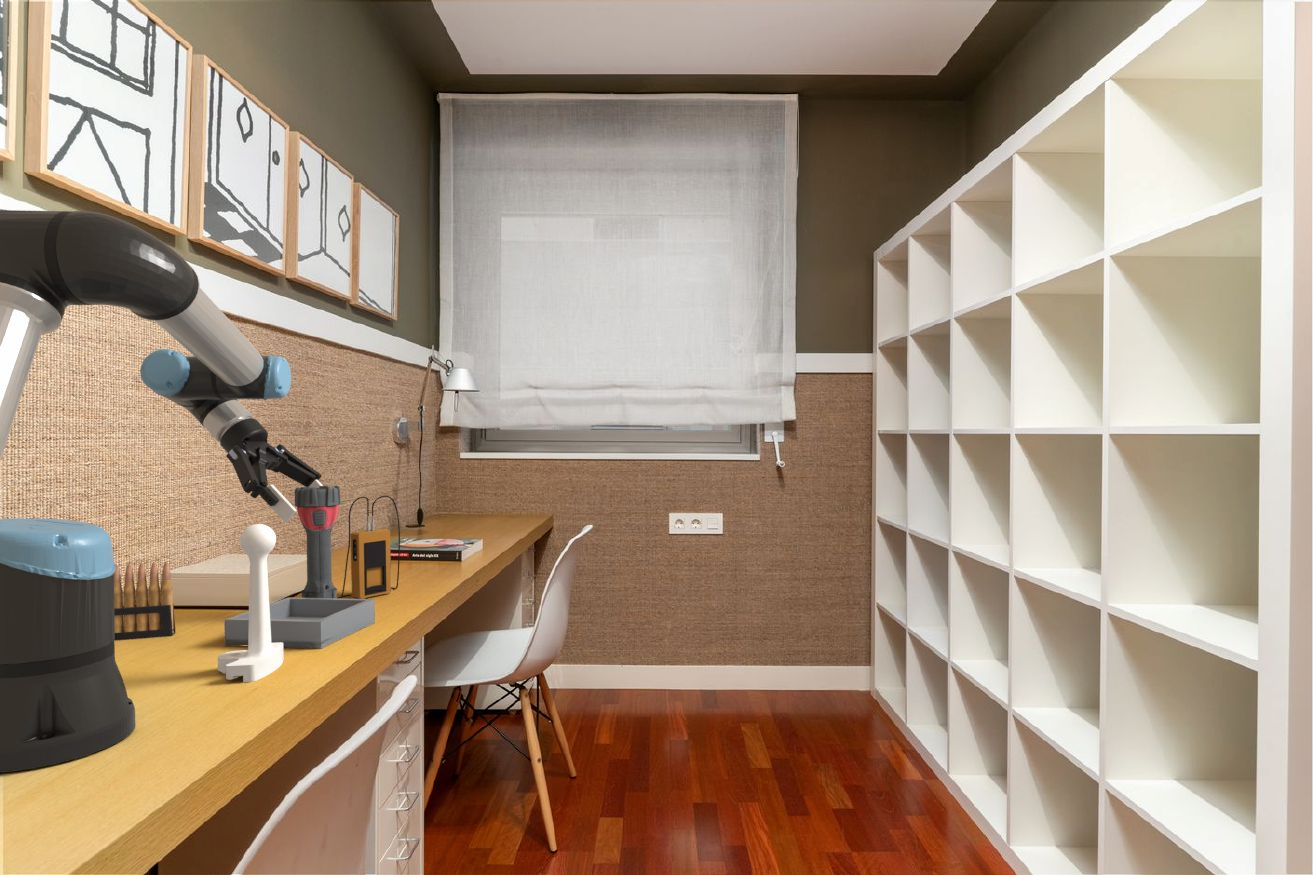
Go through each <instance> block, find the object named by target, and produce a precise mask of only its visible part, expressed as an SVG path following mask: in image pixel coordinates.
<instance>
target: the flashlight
mask: <svg viewBox="0 0 1313 875" xmlns="http://www.w3.org/2000/svg"><path fill="white" fill-rule="evenodd" d="M341 502H342V501H341V488H340V486H339V485H334V486H328V485H323V486H319V488H315V487H306V486H301V487H299V486H297V487H296V488H295V489H294V507H296V510H297V515H298V517H299V520H300V523H301V525H302V527H303V529H304V531H305V534H306V585H305V586H304V587H303V588H304V589H303V590H301V592H300V594H301V595H300V596H301V598H338V588H337V587H335V585H334V582H333V579H332V578H333V577H332V575H333V573H332V572H333V571H332V531H333V528H334V526H335V523H336V520H337V517H338V513H339V509H340V508H339V507H340V505H342V504H341Z"/></svg>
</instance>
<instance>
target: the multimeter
mask: <svg viewBox="0 0 1313 875" xmlns="http://www.w3.org/2000/svg"><path fill="white" fill-rule="evenodd" d="M381 498H389V499H390V500H391V501H392V504H393V505H394V508H395V511H396V518H397V529H398V552H397V556H398V558H397V576H396V578H397V579H396V587H394V586H393V587H392V586H391V582H392V581H391V580H392V579H391V578H392V577H391V574H392V573H391V572H392V571H391V570H392V569H391V568H392V556H391V530H390V529H389V528H375V522H374V520H375V519H374V505H375V503H376V502H377V501H378V500H379V499H381ZM361 499H366V503H367V504H366V511H367V512H366V514H367V516H366V530H361V531H353V532H352V531H351V511H352V510H353V509H352V508H353V506H354V504H355V503H356V501H358V500H361ZM369 503H370V502H369V498H368V497H367V496H360V497H357V498H356V499H355V500H354V501H353V502H352V503H351V504H350V508H349V512H348V546H347V547H348V548H347V552H346V560H345V568H344V569H345V570H344V578H343V586H342V591H341V596H337V598H338V599H344V598H345V597H350V596H351V598H352V599H369V598H373V597H377V596H382V595H384V596H386V595H390V593H391V591H392V589H393V590H397V589H398V587H399V579H400V578H399V577H400V576H399V575H400V559H401V557H400V556H401V554H400V553H401V552H400V551H401V550H400V549H401V530H400V529H401V528H400V526H401V525H400V518H399V512H398V508H397V505H396V503H395V500H394V498H392V497H391V496H389V495H381V496H379V497H377V498H376V499H375V500H374V501H373V503H372V504H371V523H370V515H369V508H370V507H369V505H370V504H369ZM349 553H350V568H351V570H350V571H351V572H350V573H351V579H350V580H351V594H346V595H344V593H345V585H346V580H347V570H348V564H349V562H348V561H349Z"/></svg>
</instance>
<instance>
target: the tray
mask: <svg viewBox="0 0 1313 875" xmlns="http://www.w3.org/2000/svg"><path fill="white" fill-rule="evenodd" d="M375 601H376V600H375V599H374V598H371V599H370V598H365V599H357V598H342V599H341V598H339V599H338V597H337V598H302V597H289V596H287V597H285V598H284V599H280V600H277V601H273V602H271V603H269V608H270V626H271V643H277V642H282V643H283V648H289V649H290V648H293V649H296V648H297V649H298V648H299V649H319V650H320V649H324V648H325V647H327V646H329V645H331V644H334V643H336V642H337V641H340V640H342V639H344V638H346V637H348V636H350V635H353V634H355V633H356V632H358V631H360V630H363V629H365V628H367V627H369V626H372V625H373V624H375V623H376V611H375V610H376V605H375V604H376V602H375ZM223 622H224V624H223V625H224V646H225V645H248V631H249V610H248V611H245V612H243V613H239V614H237V615H234V616H231V617H227V618H224V620H223Z"/></svg>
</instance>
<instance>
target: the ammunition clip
mask: <svg viewBox="0 0 1313 875" xmlns="http://www.w3.org/2000/svg"><path fill="white" fill-rule="evenodd" d="M169 565H170V564H169V563H168V561H165V562H164V564H163V567H162V573H161V586H160V581H159V580H160V578H159V571H158V567H157V564H156V561H154V562H152V563H151V566H150V570H149V580H148V581H149V584H148V583H147V574H146V573H147V571H146V569H145V566H144V563H143V562H141V563H140V564H139V565H138V570H137V575H136V576H137V578H136V588H135V581H134V579H135V577H134V571H133V567H132V565H131V563H127V565H126V567H125V572H124V585H123V586H124V587H122V578H121V577H122V576H121V571H120V568H119V566H118V564H117V563H115V569H116V570H115V572H114V634H115V639H114V642H116V641H126V640H127V641H128V640H129V641H130V640H140V639H155V638H166V637H172V636H173V635H175V634H176V632H177V631H176V619H175V607H174V601H173V600H174V599H173V598H174V596H173V590H174V589H173V585H172V578H171V574H172V573H171V567H170V566H169Z"/></svg>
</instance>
